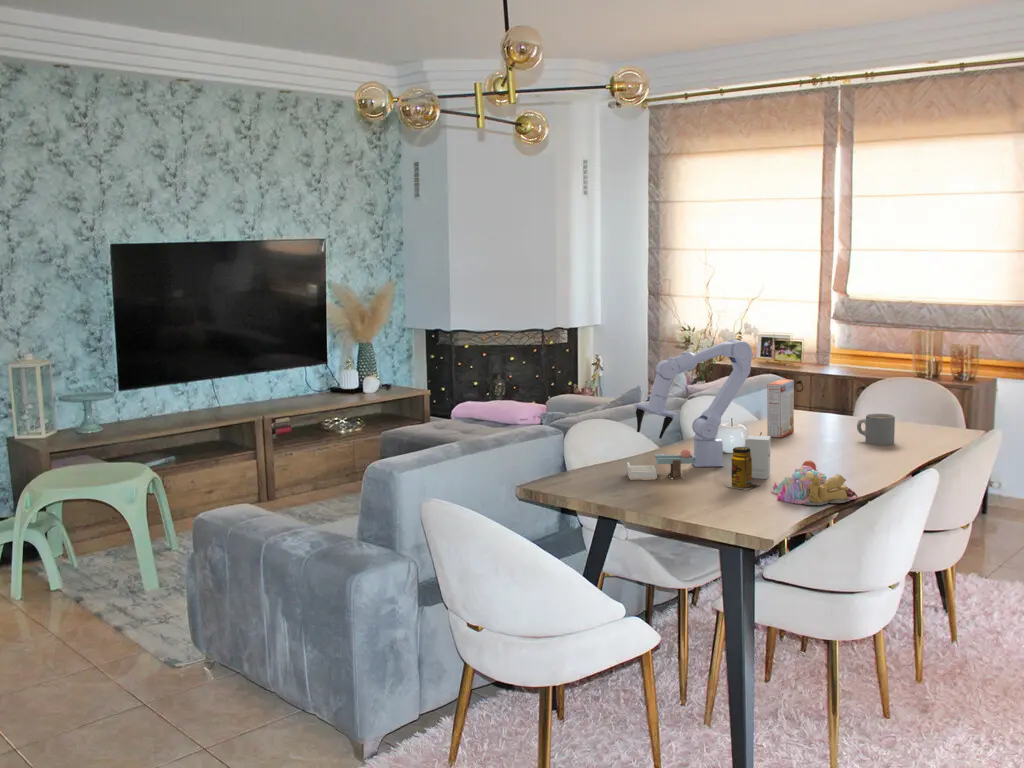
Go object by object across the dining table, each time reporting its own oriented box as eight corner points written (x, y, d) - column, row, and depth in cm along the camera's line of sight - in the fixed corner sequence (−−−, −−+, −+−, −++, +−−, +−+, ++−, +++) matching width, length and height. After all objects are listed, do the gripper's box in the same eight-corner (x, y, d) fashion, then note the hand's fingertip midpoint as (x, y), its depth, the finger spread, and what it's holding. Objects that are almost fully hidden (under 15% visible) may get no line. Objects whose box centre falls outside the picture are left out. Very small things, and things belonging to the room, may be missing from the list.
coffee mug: (899, 442, 365) (900, 415, 363) (884, 446, 359) (884, 419, 357) (867, 437, 375) (867, 411, 374) (851, 441, 369) (852, 414, 368)
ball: (689, 457, 320) (689, 448, 320) (691, 460, 317) (691, 450, 317) (679, 458, 320) (679, 448, 320) (681, 460, 317) (681, 450, 317)
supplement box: (768, 479, 313) (768, 440, 311) (744, 478, 316) (744, 439, 314) (770, 474, 320) (771, 435, 318) (747, 473, 322) (747, 434, 321)
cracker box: (779, 431, 392) (780, 378, 390) (794, 432, 389) (795, 379, 386) (765, 437, 381) (766, 383, 378) (781, 438, 378) (781, 384, 375)
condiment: (725, 486, 305) (725, 448, 303) (741, 481, 311) (741, 444, 309) (745, 490, 300) (746, 451, 298) (761, 485, 305) (761, 447, 304)
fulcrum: (680, 473, 324) (680, 455, 323) (683, 479, 316) (683, 460, 315) (667, 473, 324) (667, 455, 323) (670, 479, 316) (670, 461, 315)
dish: (653, 473, 324) (653, 461, 324) (656, 479, 316) (656, 467, 315) (627, 474, 325) (627, 462, 324) (629, 480, 316) (629, 468, 315)
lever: (690, 455, 328) (690, 449, 328) (695, 463, 316) (695, 457, 316) (653, 456, 329) (653, 450, 329) (657, 464, 317) (657, 458, 317)
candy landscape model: (872, 499, 287) (873, 468, 285) (814, 512, 275) (814, 479, 274) (807, 483, 308) (808, 454, 307) (750, 494, 297) (751, 463, 295)
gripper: (636, 390, 329) (626, 430, 331) (679, 402, 326) (669, 441, 327) (639, 389, 336) (629, 428, 337) (681, 400, 332) (671, 439, 334)
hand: (649, 435), depth 333 cm, fingers open, 7 cm apart
